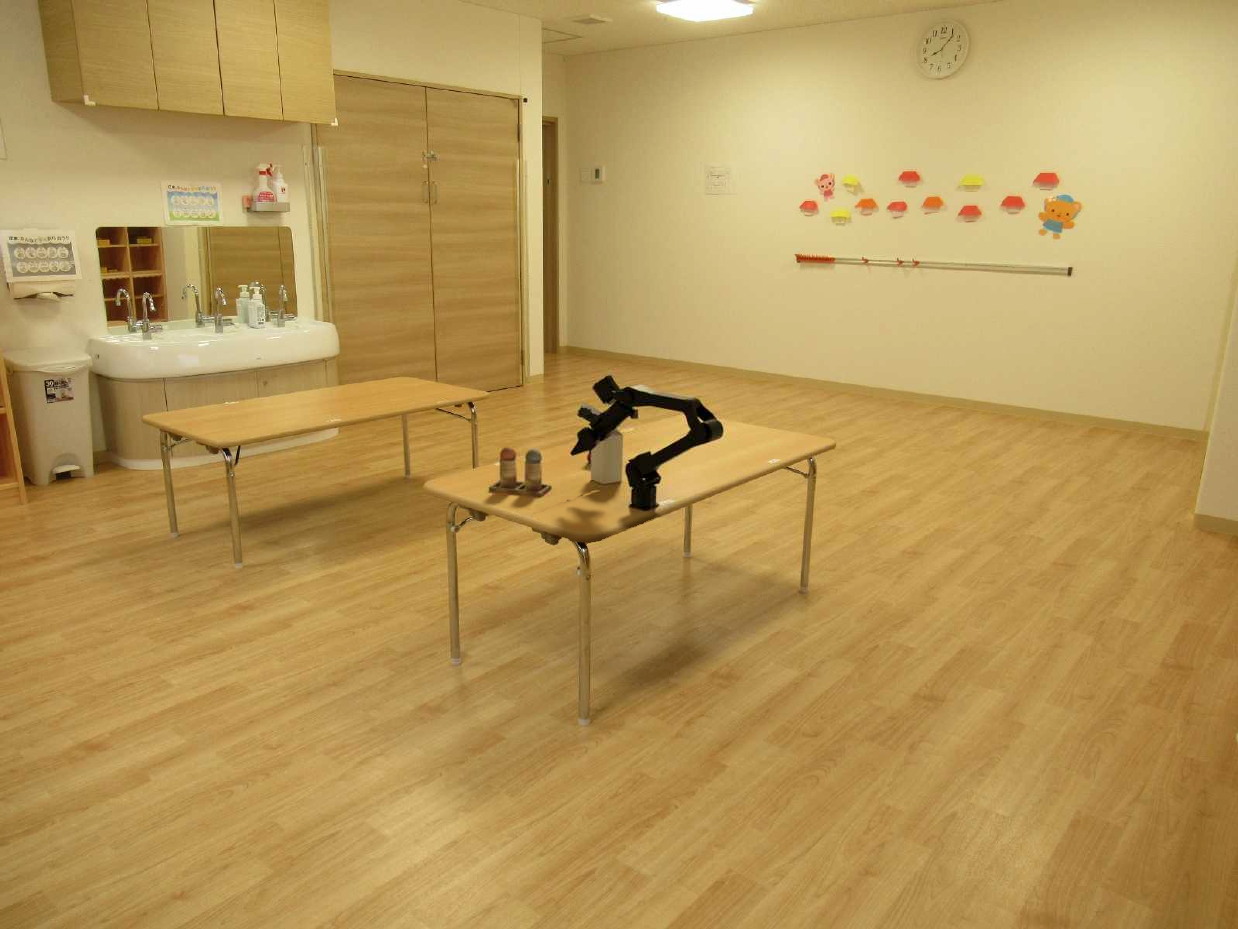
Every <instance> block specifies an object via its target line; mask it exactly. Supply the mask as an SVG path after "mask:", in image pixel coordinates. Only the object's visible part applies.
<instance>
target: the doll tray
mask: <svg viewBox="0 0 1238 929" xmlns="http://www.w3.org/2000/svg"><path fill="white" fill-rule="evenodd" d="M552 486H553V485H552V484H548V483H547V484H545V483H542V490H541V491H540V492H536V491H527V490H525V481H518V480H517V488H516V489H509V488H500V479H499V480H497V481H496V482H494V483H493V484H491V485H490V486H489V487H488V491H489V492H494V493H502V494H512V495H519V496H520V495H521V496H529V497H537V498H538V497H539V498H542V497H543V496H545V495H546V494H547V493H549V492H550V491H551V490H552Z"/></svg>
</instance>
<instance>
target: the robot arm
mask: <svg viewBox="0 0 1238 929" xmlns="http://www.w3.org/2000/svg"><path fill="white" fill-rule="evenodd" d="M592 390H593V392H594V393H595V395H596V396H597V397H598V398H599V400H600V401H601V402H602V404H603V405H608V406H609V407H608V408H607V409H606V410H605V409H604V410H603V411H601V410H599V409H598V408H596V407H594V406H592V405H590V404H588V403H583V404H582V405H581V406H580V408H579V409H578V410H577V411H578V412H577V415H576V416H578V417H579V418H581V419H584V420H585V421H586V422H589V423H588V425H589V427H588V426H584V427H583V428H581V429H580V430H579V431H578V432H577V433H576V436H577V442H576V443H575V445H574V447H573V448H572V449H571V450H570V455H571V456H572V457H573V456H577V455H580V454H583V453H586V452H589V450H592V449H594V448H595V447H596V446H597V445H598V444H599V443H600V442H601V441H604V440H605V439H607V438H608V437H610V436H611V435H612V434H613V433H614V430H615V429H616V428H617V429H618V427H619V426H621V424H623V422H625V421H626V420H627V419H628V418H629V417H630V419H631V420H637V419H639V409H635V408H641V407H652V408H658V409H662V410H663V409H664V410H669V411H673V412H680V413H683V415H684V416H685V419H686V422H687V426H688V428H689V429H690V430H688V432H687V433H686V435H684V436H683V437H681V438H679V439H677V440H676V441H674V442H672V443H670V444H669V445H667V446H665V447H663V448H662V449H659V450H658V451H656V452H654V453H653V454H652V452H651V450H649V451H646V452H642V453H639V454H637V455H636V456H635V457H634V458H630V459H628V460H627V461H628V463H626V464H625V466H624V467H625V470H624V471H625V475H626V477H627V482H628V486H629V488H631V490H630V503H629V504H628V507H631V508H634V507H635V508H636V509H639V510H643V511H650V510H652V509H653V508H654V509H655V508H656V507H659V506H660V503H657V488H658V486H657V485H659V484H660V483H661V481H662V476H661V475H660V473H659V472H658V470H659V468H660V467H661V466H663V465H665V464H666V463H667V462H670V461H672V460H673V459H676V458H677V457H680V456H681V455H683V454H684V453H687V452H688V451H690V450H692V449H694V448H695V447H699V446H702V445H705V444H706V445H707V444H708V443H709V444H710V443H712V442H714V441H718V440H720V439H721V438H722V437H723V435H724V432H725V430H724V426H723V424H722V422H721V421H720V420H718V419H717V417H716V415H715V414H714V413H713V412H712V411H711V410H709V409H708V408H707V406H706V407H705V406H704V405H703V403H702V402H701V400H700V399H699V398H697V397H695V396H694V397H689V396H683V395H676V394H672V393H666V392H659V391H656V390H654V389H653V388H652V387H649V386H647V385H645V384H641V383H639V384H632V385H628V386H626V387H623V388H620V386H619V385H618V384H617V382H616V381H615V380H614V378H613V376H612V375H611V374H610V375H609V374H607V375H606V376H605V377H603V378H601V379H600V380H599V381H597V382H595V383H594V384H593V385H592Z"/></svg>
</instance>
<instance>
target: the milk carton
mask: <svg viewBox="0 0 1238 929" xmlns="http://www.w3.org/2000/svg"><path fill="white" fill-rule="evenodd" d="M623 449H624V434H623V433H621V431H620V430H618V427H617V428H616V429H615V430H614V433H613V434H612V435H611V436H610V437H608V438H607V439H605V440H604V441H601V442H600V443H599V444H598V445H597V446H596V447H595V448H594V449H592V450H591V464H590V479H591V480H592V481H595V482H597V483H599V484H601V485H608V484H613V483H618V482H619V483H620V482H623V457H624V456H623V454H624V453H623V451H624V450H623Z"/></svg>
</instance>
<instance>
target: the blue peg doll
mask: <svg viewBox="0 0 1238 929" xmlns="http://www.w3.org/2000/svg"><path fill="white" fill-rule="evenodd" d="M524 458H525V460H524V482H525V490H527V491H536V492H540V491H541V490H542V484H543V483H542V481H543V480H542V479H543V476H542V475H543V461H542V458H543V457H542V453H541V452H540V450H537V449H534V448H533V449H529V450H528V451H527V452H526V454H525V457H524Z"/></svg>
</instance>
